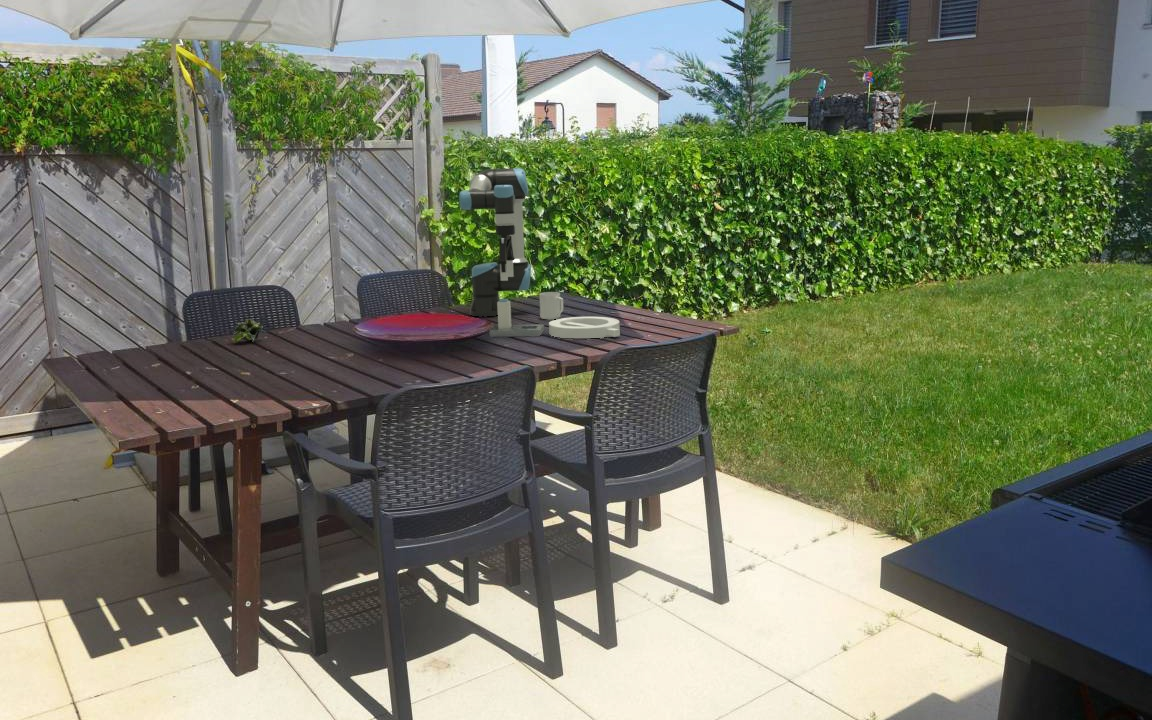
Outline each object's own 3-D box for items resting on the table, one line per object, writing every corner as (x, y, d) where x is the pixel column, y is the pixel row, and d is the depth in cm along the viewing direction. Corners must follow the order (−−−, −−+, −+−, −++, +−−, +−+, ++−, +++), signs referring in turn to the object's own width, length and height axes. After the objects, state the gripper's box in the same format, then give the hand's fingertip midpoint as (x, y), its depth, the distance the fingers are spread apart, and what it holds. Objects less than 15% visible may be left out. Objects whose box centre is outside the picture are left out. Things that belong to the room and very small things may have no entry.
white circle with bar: (620, 339, 359) (620, 327, 358) (547, 341, 359) (547, 329, 358) (618, 327, 386) (618, 315, 385) (551, 328, 387) (550, 317, 386)
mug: (536, 319, 409) (535, 293, 407) (550, 316, 416) (549, 291, 413) (556, 321, 401) (555, 295, 399) (570, 318, 408) (569, 293, 405)
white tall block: (500, 332, 378) (499, 298, 376) (511, 332, 378) (510, 298, 375) (498, 334, 374) (497, 300, 371) (509, 334, 373) (508, 300, 371)
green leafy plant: (252, 354, 377) (266, 328, 379) (257, 353, 367) (272, 326, 370) (226, 341, 372) (240, 314, 375) (230, 339, 362) (245, 312, 365)
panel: (495, 330, 383) (495, 324, 382) (544, 330, 381) (544, 324, 380) (489, 336, 370) (489, 330, 370) (539, 336, 368) (539, 330, 367)
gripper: (509, 226, 355) (511, 282, 359) (519, 222, 380) (521, 275, 384) (489, 226, 356) (492, 282, 360) (501, 223, 380) (503, 275, 384)
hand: (507, 278), depth 372 cm, fingers open, 13 cm apart
